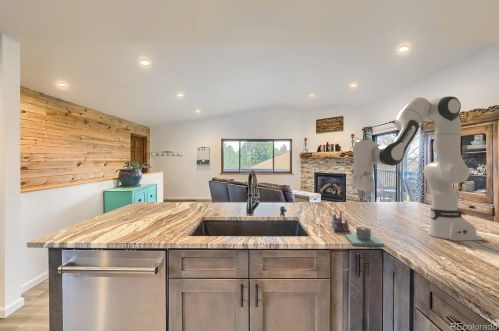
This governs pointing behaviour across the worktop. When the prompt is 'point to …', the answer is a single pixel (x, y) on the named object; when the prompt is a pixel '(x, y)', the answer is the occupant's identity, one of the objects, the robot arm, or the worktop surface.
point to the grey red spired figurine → (339, 224)
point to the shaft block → (356, 242)
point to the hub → (363, 234)
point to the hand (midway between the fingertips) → (363, 199)
